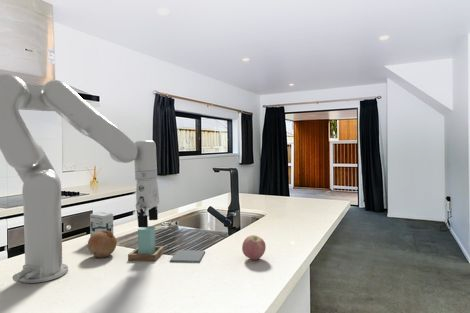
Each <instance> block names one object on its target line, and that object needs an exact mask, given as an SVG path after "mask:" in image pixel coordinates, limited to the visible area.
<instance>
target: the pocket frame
mask: <svg viewBox="0 0 470 313" xmlns="http://www.w3.org/2000/svg"><path fill="white" fill-rule="evenodd" d="M163 253H165V246H164V245H162V246H161V245H160V246H158V245H155V253H154V254H138V246H137V247H136V248H134V249H133V250H132V251H131V252H130V253H128V254H127V261H129V262H130V261H132V262H133V261H135V262H136V261H137V262H138V261H139V262H156V261H157V260H158V259H159V258H160V257H161V256H162V255H163Z"/></svg>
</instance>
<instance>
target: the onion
mask: <svg viewBox="0 0 470 313" xmlns="http://www.w3.org/2000/svg"><path fill="white" fill-rule="evenodd" d="M116 247H117V238H116V236H115V235H114V233H113V234H112V233H111V231H108V230H106V231H101V232H96V233H94V234H93V235H92V236H91V237H89V238H88V241H87V249H88V251H89V252H90V254H91V255H93V257H95V258H99V259H103V258H106V257H109V256H110V255H112V254H114V251H115V250H116Z"/></svg>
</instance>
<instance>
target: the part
mask: <svg viewBox="0 0 470 313" xmlns="http://www.w3.org/2000/svg"><path fill="white" fill-rule="evenodd" d="M155 246H156V226H150V225H148V227H139V228H138V229H137V247H138V254H154V253H155Z"/></svg>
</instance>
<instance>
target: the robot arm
mask: <svg viewBox="0 0 470 313" xmlns="http://www.w3.org/2000/svg"><path fill="white" fill-rule="evenodd" d="M19 110H23V111H41V112H55V113H56V114H58V115H59V116H60V117H61V118H62V119H63V120H65V121H66V122H67V123H68V124H69V125H71V126H72V127H73V128H74V129H75V130H77V132H79V133H81V134H82V135H83V136H85V137H88V138H89V139H92V140H93V141H95V142H96V143H97V144H99V145H100V146H101V147H103V148H104V149H105V150H106V151H108V154H109V157H110V158H111V159H112V161H115V162H116V163H123V164H128V163H132V162H133V161H134V178H135V181H136V187H135V188H136V191H135V194H136V195H135V196H136V197H135V199H136V201H135V202H136V203H135V209H136V216H137V227H138V228H141V227H148V226H149V221H158V219H159V218H158V217H159V216H158V205H159V204H160V196H159V195H160V194H159V193H160V192H159V186H158V185H159V184H158V167H157V164H158V162H157V146H156V142H155V141H154V140H137V141H133V140H132V139H131V138H130V137H128V135H127V134H125V132H123V131H122V130H121V129H120V128H118V127H117V126H116V125H115V124H113V123H112V122H111V121H109V120H108V119H107V118H106V117H105V116H104V115H102V114H100V112H98V111H97V110H96V109H95V108H94V107H93V106H91V105H90V104H89V103H88V102H87V101H86V100H85V99H83V98H82V97H81V96H80V95H79V94H78V93H77V92H76V91H75V90H74V89H72V88H71V86H69V85H68V84H66V83H65V82H64V81H61V80H57V79H56V80H50V81H47V82H46V83H45V84H33V83H26V82H25V81H24V80H23V79H21V78H20V77H18V76H17V75H14V74H12V73H0V152H1V153H2V155H3V158H4V159H5V161H6V163H7V164H8V165H9V166H10V167H12V168H13V169H14V170H15V171H16V173H17V175H18V176H19V178H20V179H21V181H22V183H23V184H22V192H21V193H22V206H23V227H24V228H23V229H24V230H23V232H24V265H22V269H21V270H20V271H18V272H17V273H14V274H13V275H12V280H13V281H14V282H18V281H20V282H21V283H25V284H37V283H43V282H48V281H52V280H55V279H58V278H60V277H62V276H64V275H65V274H67V273H68V271H69V266H68V265H67V264H65V263H63V236H62V235H63V234H62V229H63V228H62V183H61V179H60V177H59V175H58V173H57V171H56V170H55V168H54V166H53V165H52V163H51V160H50V159H49V158H48V156H47V154H46V152H45V150H44V149H43V147H42V146H41V144H39V143H38V142H37V141H36V140H35V138H34V137H33V135H32V134H31V132H30V130H29V128H28V126H27V125H26V123H25V121H24V119H23V117H22V115H21V113H20V111H19ZM147 213H148V215H147Z"/></svg>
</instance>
